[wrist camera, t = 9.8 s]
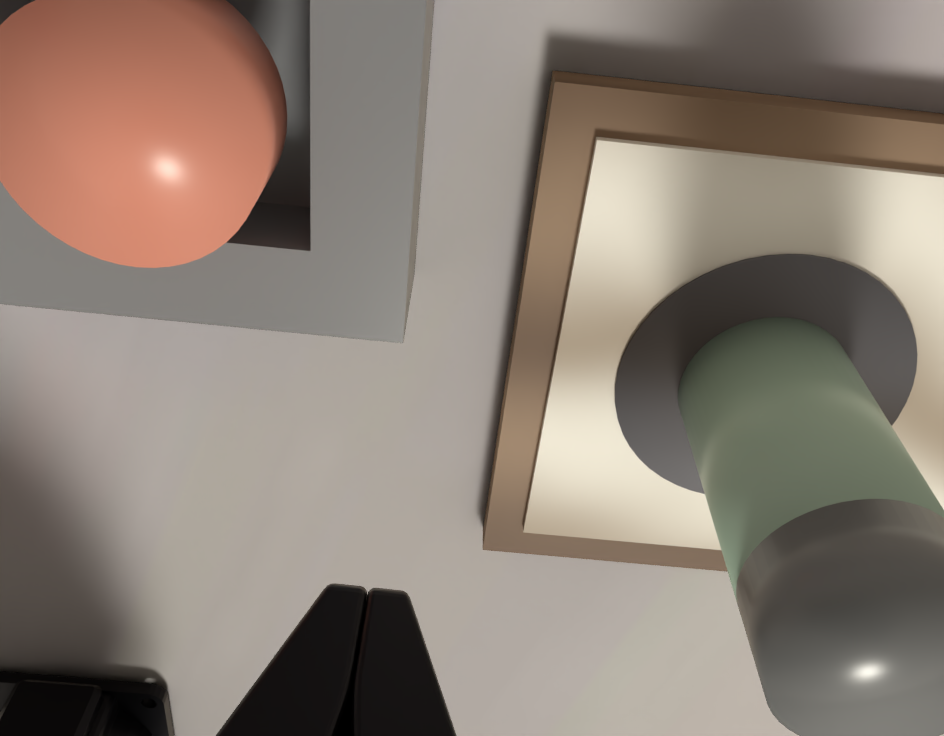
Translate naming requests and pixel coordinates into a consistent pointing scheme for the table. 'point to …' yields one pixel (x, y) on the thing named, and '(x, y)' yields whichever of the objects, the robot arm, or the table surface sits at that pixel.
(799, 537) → the canister
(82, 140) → the button
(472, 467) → the table surface
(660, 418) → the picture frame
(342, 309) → the button housing
